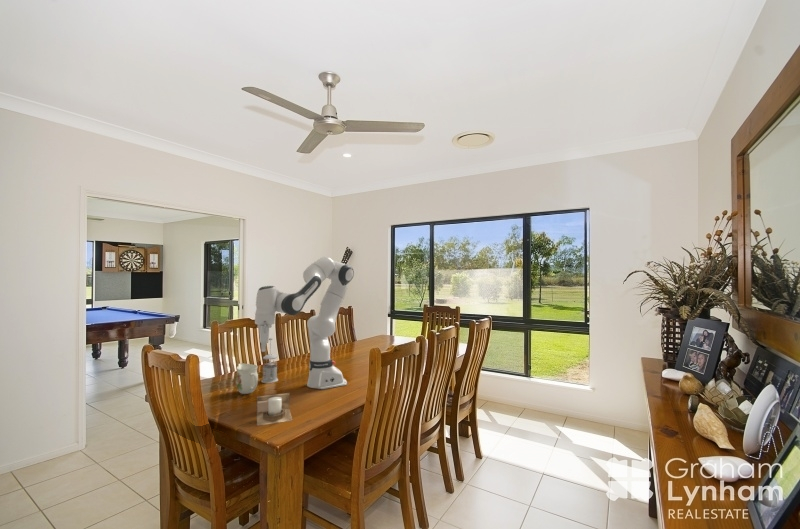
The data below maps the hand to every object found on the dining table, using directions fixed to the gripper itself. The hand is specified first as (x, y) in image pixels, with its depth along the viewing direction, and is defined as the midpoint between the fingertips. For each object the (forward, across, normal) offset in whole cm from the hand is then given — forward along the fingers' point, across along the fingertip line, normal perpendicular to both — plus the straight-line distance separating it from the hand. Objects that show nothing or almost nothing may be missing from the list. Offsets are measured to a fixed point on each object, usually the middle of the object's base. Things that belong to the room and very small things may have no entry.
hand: (263, 349), depth 167 cm
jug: (+26, -16, -4) cm, 31 cm away
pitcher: (+28, +26, +6) cm, 38 cm away
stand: (+28, -16, -6) cm, 32 cm away
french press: (+27, +43, -6) cm, 51 cm away
